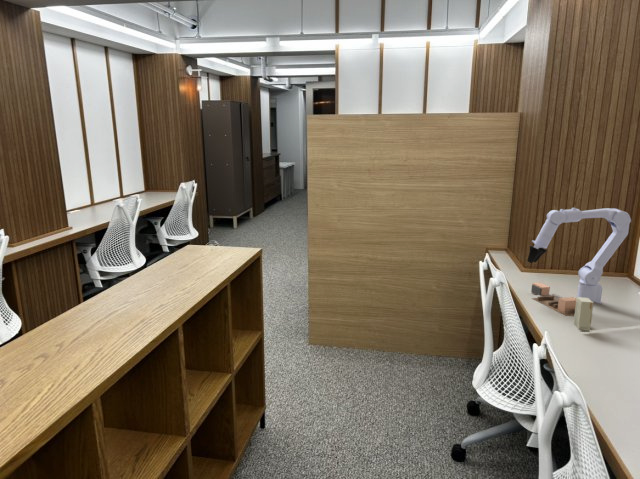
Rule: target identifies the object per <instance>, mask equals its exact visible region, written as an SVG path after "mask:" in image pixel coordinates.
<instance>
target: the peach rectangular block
mask: <svg viewBox="0 0 640 479" xmlns="http://www.w3.org/2000/svg"><path fill="white" fill-rule="evenodd" d="M550 290H551V286H548V285H547V284H544V283H541V282H532V285H531V294H534V295H535V296H550Z"/></svg>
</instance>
